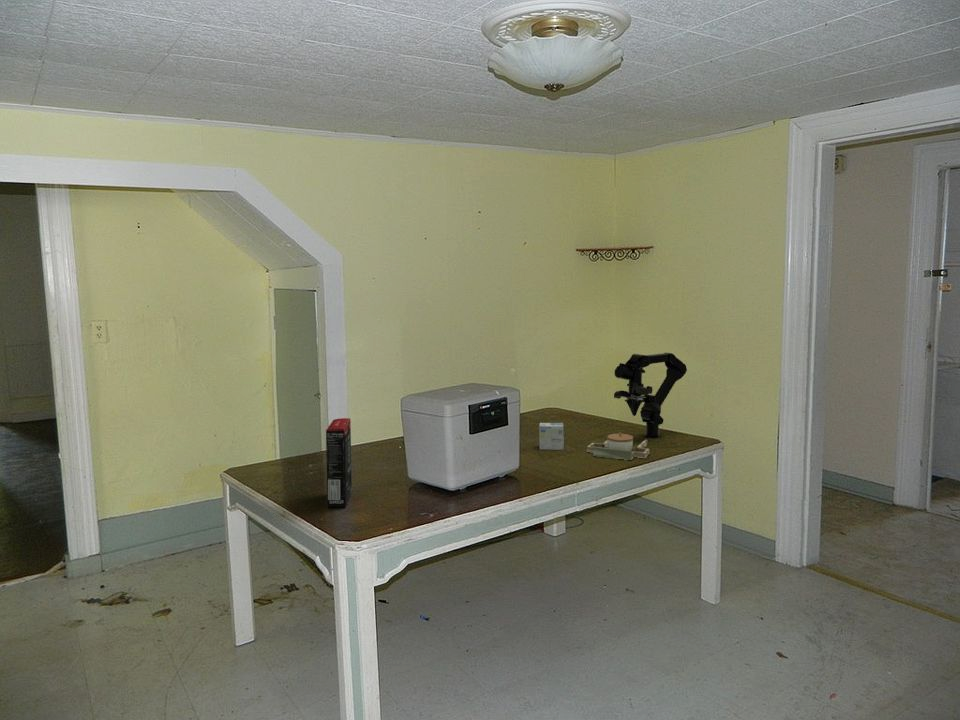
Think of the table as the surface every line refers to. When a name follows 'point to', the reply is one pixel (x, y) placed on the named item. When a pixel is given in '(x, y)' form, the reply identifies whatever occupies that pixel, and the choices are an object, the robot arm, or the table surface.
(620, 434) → the lidded jar
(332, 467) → the graphics card box
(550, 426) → the light bulb box
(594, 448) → the trap lane
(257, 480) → the table surface
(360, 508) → the table surface
